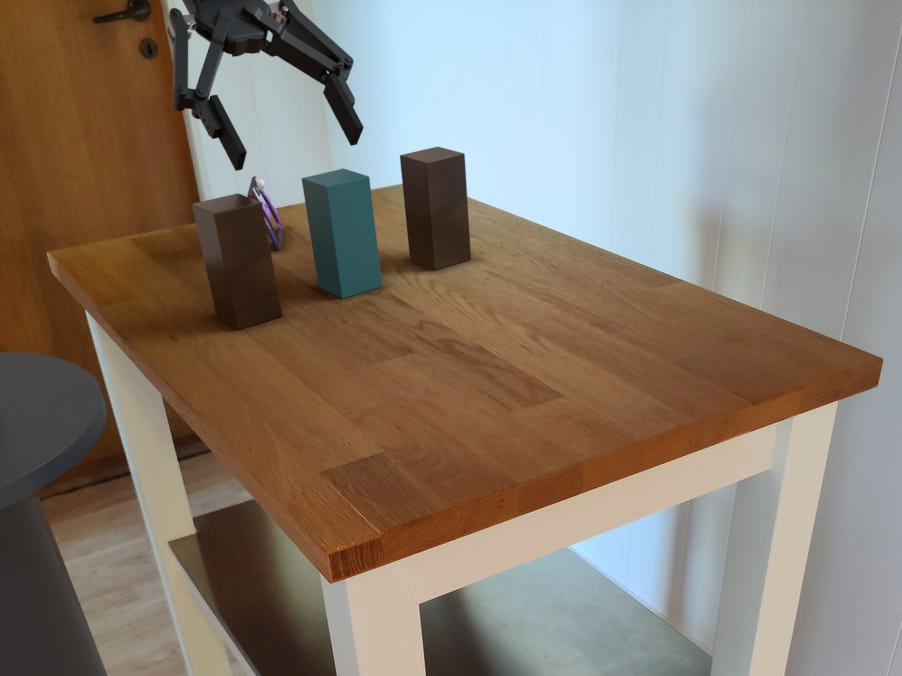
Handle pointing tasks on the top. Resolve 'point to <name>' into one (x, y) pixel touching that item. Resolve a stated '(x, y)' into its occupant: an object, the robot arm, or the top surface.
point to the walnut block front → (238, 260)
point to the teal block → (342, 232)
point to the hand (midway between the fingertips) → (301, 149)
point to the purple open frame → (266, 211)
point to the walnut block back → (436, 207)
